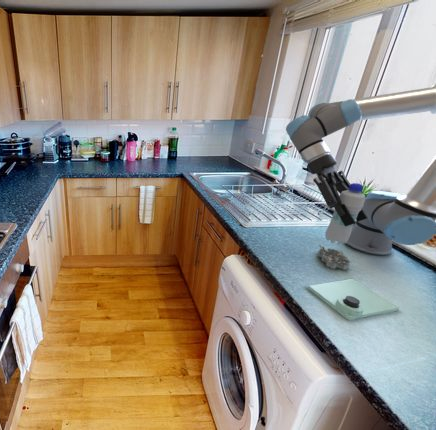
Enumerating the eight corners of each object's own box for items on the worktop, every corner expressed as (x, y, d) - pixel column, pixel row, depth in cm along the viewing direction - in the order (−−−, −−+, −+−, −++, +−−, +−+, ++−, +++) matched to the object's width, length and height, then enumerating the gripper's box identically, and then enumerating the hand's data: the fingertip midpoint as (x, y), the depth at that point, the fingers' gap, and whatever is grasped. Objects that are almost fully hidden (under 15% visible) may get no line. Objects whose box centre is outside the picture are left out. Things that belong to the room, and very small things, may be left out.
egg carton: (314, 253, 112) (318, 244, 110) (336, 255, 110) (340, 246, 109) (326, 268, 102) (330, 258, 101) (350, 271, 101) (354, 261, 99)
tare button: (349, 299, 84) (351, 295, 83) (360, 307, 81) (362, 302, 80) (340, 301, 83) (343, 296, 82) (351, 309, 80) (353, 304, 79)
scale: (351, 281, 96) (355, 274, 95) (397, 311, 83) (402, 303, 82) (307, 288, 92) (310, 281, 91) (348, 320, 80) (352, 312, 78)
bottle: (350, 242, 95) (374, 184, 86) (343, 248, 91) (367, 188, 82) (327, 234, 99) (348, 178, 91) (319, 239, 96) (340, 182, 87)
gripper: (323, 162, 102) (359, 220, 96) (290, 168, 94) (327, 233, 88) (345, 150, 96) (385, 211, 90) (312, 155, 87) (353, 224, 81)
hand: (356, 222), depth 89 cm, fingers closed on bottle, 7 cm apart
